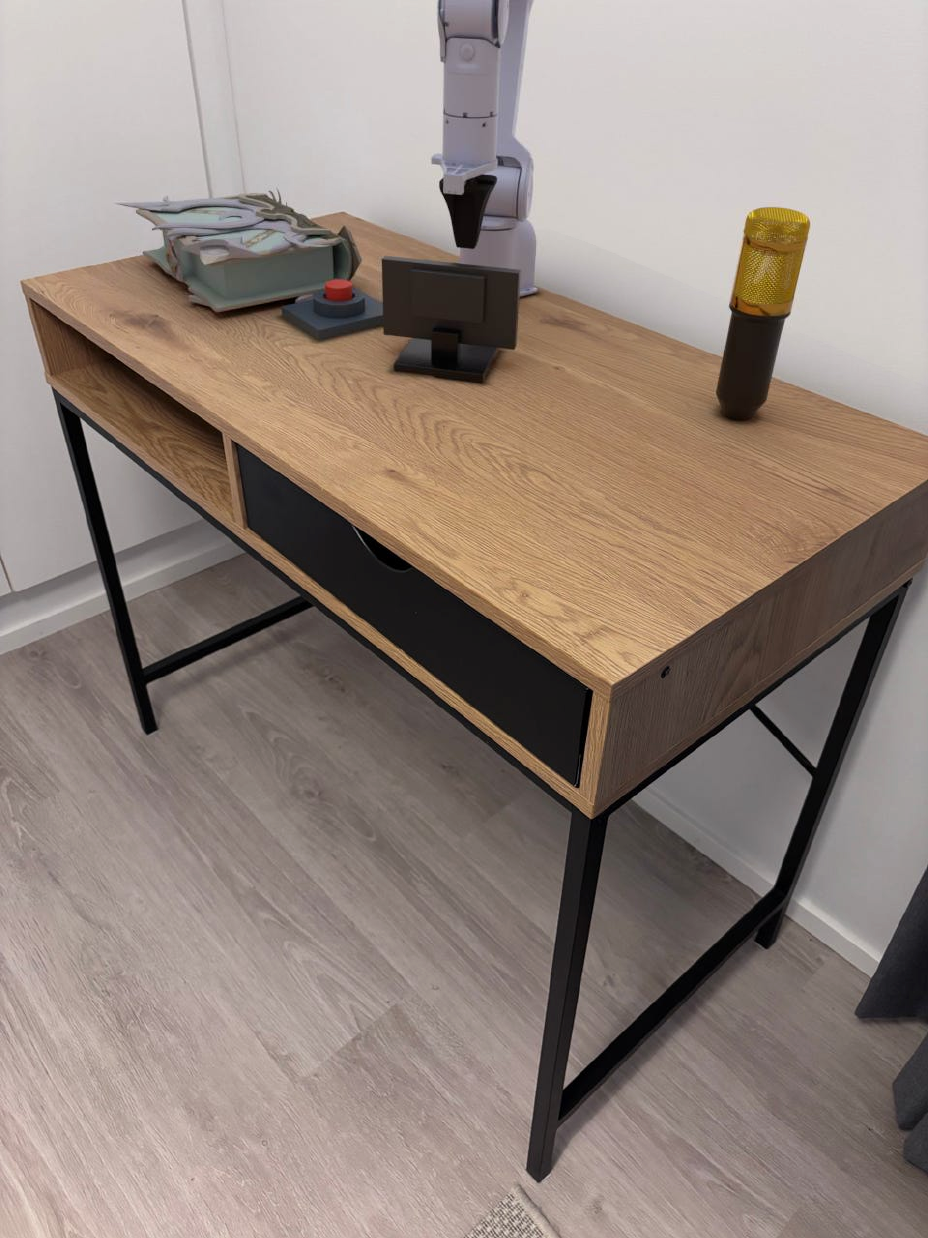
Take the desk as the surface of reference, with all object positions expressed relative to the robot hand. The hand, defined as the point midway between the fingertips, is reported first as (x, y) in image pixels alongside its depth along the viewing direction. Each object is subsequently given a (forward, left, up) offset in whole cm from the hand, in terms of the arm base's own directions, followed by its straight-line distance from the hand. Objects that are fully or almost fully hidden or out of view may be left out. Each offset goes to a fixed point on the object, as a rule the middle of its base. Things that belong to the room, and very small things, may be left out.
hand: (466, 246), depth 112 cm
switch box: (+10, -12, -10) cm, 19 cm away
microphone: (-11, +29, -11) cm, 33 cm away
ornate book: (+13, -32, -11) cm, 36 cm away
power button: (+10, -12, -8) cm, 17 cm away
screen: (+6, +5, -8) cm, 11 cm away
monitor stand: (+6, +5, -10) cm, 13 cm away
